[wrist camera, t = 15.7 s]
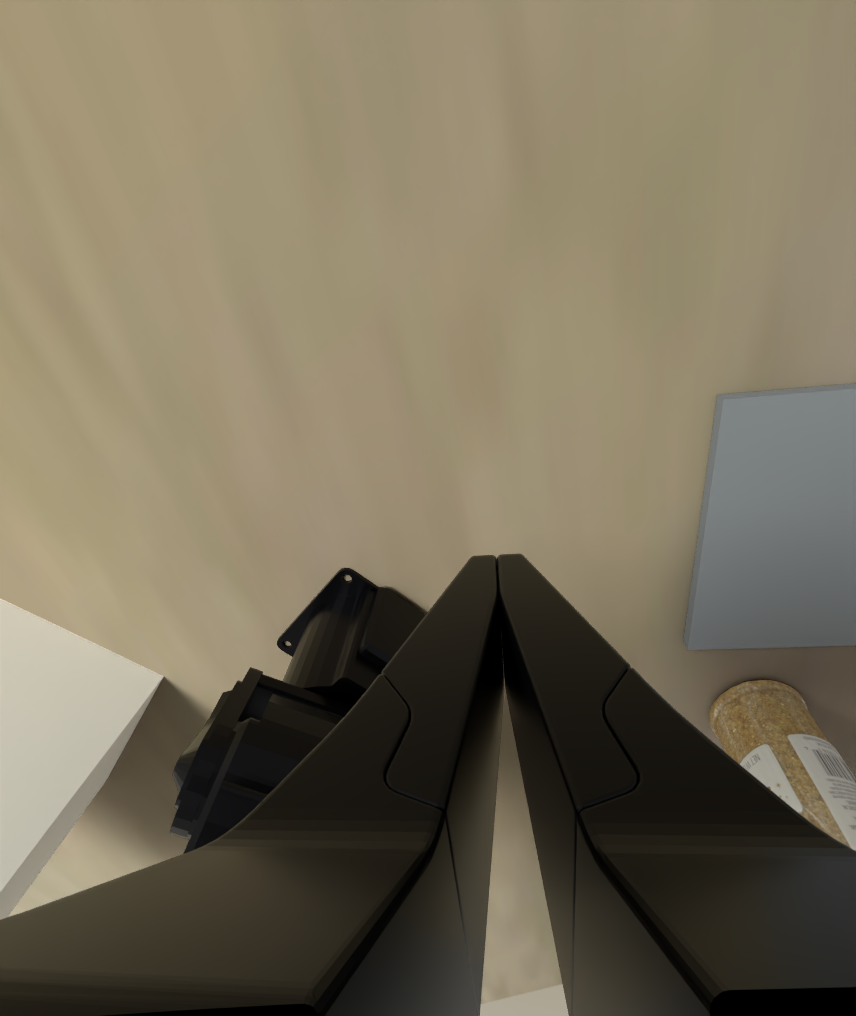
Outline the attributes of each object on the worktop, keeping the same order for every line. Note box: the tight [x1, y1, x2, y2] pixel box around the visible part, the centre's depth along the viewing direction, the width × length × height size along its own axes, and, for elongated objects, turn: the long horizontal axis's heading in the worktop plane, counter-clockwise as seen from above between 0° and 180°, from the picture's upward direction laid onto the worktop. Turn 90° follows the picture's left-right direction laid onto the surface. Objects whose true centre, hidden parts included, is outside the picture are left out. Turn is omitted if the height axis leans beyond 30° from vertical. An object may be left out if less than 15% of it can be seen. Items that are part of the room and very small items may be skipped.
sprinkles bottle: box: [709, 680, 856, 851], centre depth 21 cm, size 5×5×13 cm
